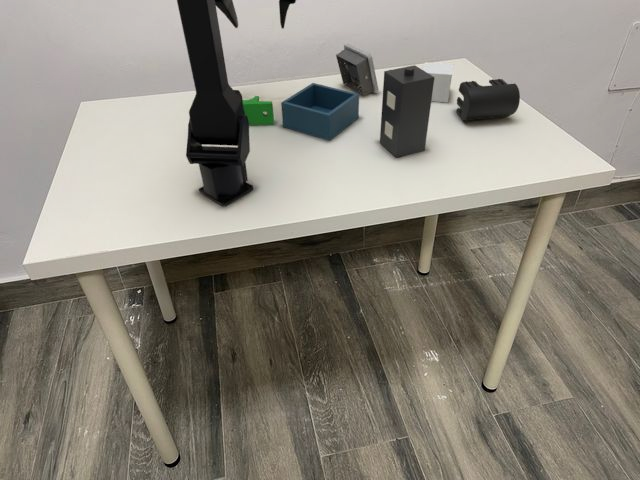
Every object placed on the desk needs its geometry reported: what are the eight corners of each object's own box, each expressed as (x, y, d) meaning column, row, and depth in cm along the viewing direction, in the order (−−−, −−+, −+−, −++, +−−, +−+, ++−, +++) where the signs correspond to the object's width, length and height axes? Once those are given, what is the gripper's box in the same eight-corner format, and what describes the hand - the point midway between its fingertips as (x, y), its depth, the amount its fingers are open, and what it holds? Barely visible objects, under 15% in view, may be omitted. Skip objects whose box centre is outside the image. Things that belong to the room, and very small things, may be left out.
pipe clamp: (275, 116, 98) (273, 95, 95) (273, 125, 95) (272, 103, 92) (221, 117, 98) (218, 95, 95) (218, 125, 95) (214, 103, 92)
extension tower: (395, 158, 84) (402, 77, 75) (378, 143, 88) (383, 65, 79) (424, 150, 86) (435, 71, 77) (407, 136, 90) (415, 59, 81)
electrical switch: (379, 93, 105) (378, 52, 99) (360, 101, 103) (358, 59, 97) (354, 80, 111) (352, 40, 105) (336, 87, 110) (333, 47, 103)
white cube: (447, 102, 101) (452, 74, 97) (419, 100, 102) (422, 72, 98) (449, 91, 105) (453, 64, 101) (421, 89, 107) (425, 62, 103)
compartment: (329, 140, 90) (329, 115, 86) (282, 126, 94) (280, 102, 91) (358, 117, 96) (359, 93, 93) (313, 105, 101) (312, 82, 98)
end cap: (465, 127, 92) (472, 94, 88) (453, 111, 98) (458, 79, 93) (514, 123, 93) (523, 89, 89) (499, 107, 98) (507, 75, 94)
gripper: (305, -82, 83) (311, 3, 96) (202, -81, 85) (222, 3, 98) (297, -50, 77) (305, 37, 90) (186, -49, 79) (210, 36, 92)
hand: (259, 27), depth 93 cm, fingers open, 9 cm apart
